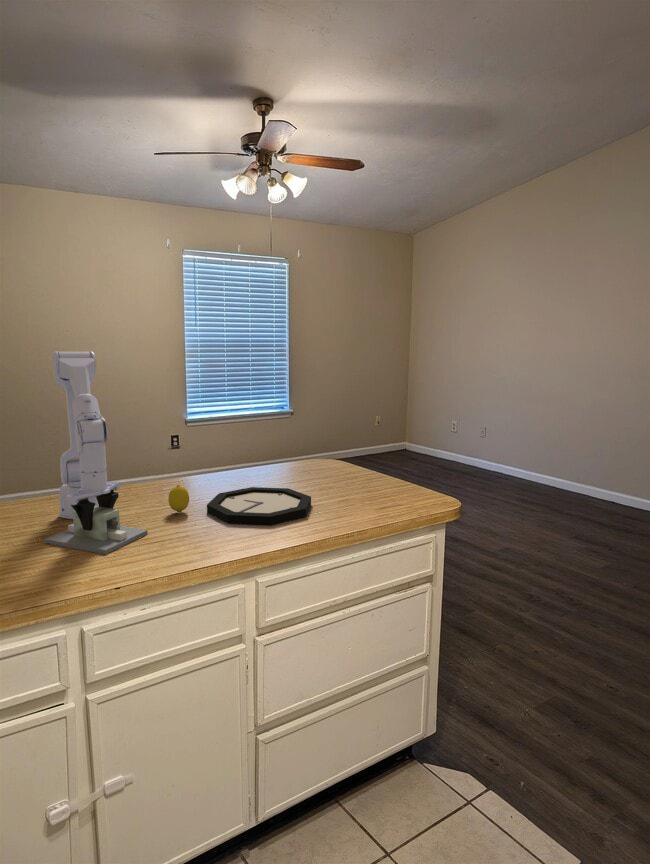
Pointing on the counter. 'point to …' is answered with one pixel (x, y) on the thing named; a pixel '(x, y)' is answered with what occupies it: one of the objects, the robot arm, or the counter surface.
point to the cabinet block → (98, 523)
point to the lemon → (178, 498)
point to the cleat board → (94, 545)
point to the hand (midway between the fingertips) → (96, 525)
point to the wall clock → (259, 506)
